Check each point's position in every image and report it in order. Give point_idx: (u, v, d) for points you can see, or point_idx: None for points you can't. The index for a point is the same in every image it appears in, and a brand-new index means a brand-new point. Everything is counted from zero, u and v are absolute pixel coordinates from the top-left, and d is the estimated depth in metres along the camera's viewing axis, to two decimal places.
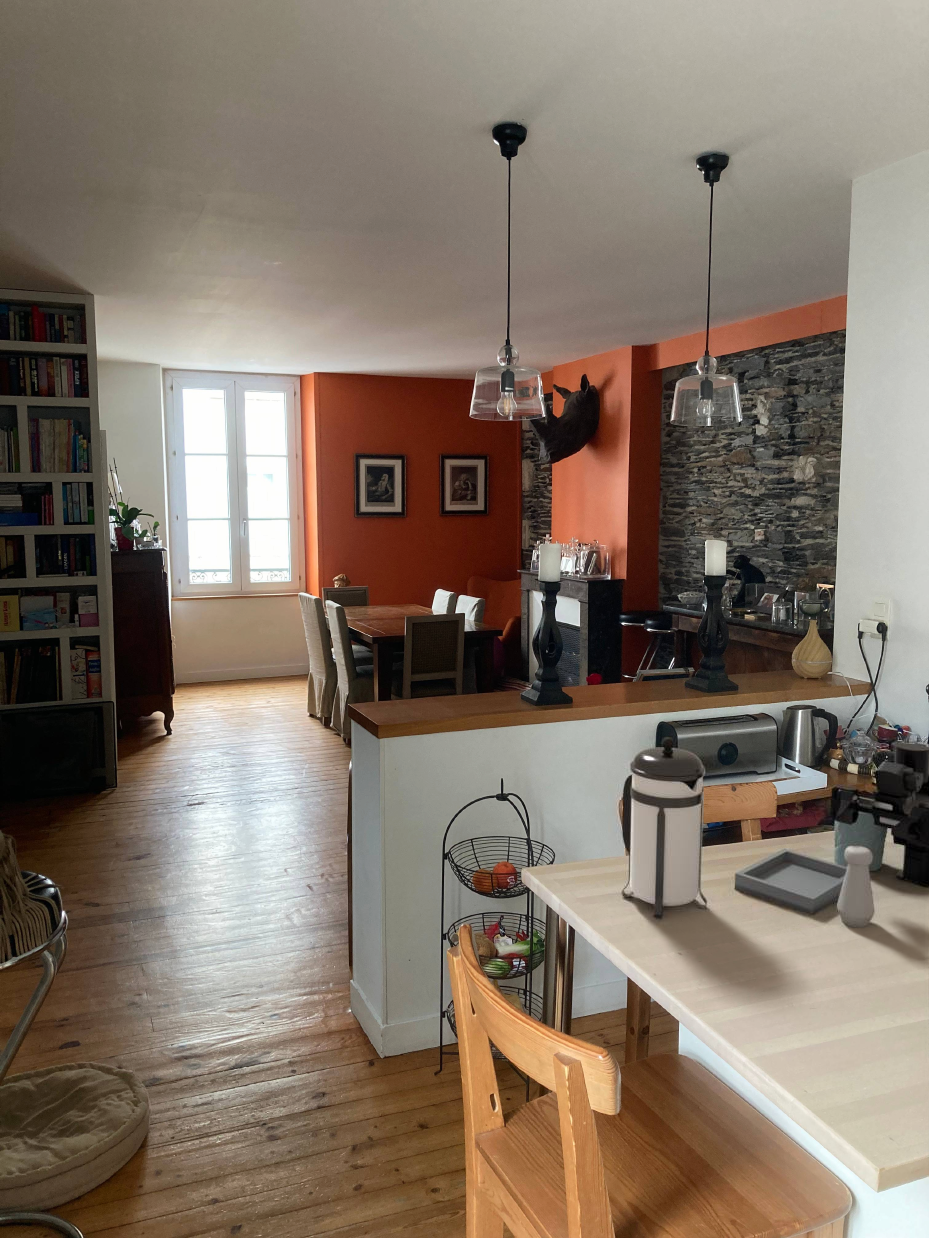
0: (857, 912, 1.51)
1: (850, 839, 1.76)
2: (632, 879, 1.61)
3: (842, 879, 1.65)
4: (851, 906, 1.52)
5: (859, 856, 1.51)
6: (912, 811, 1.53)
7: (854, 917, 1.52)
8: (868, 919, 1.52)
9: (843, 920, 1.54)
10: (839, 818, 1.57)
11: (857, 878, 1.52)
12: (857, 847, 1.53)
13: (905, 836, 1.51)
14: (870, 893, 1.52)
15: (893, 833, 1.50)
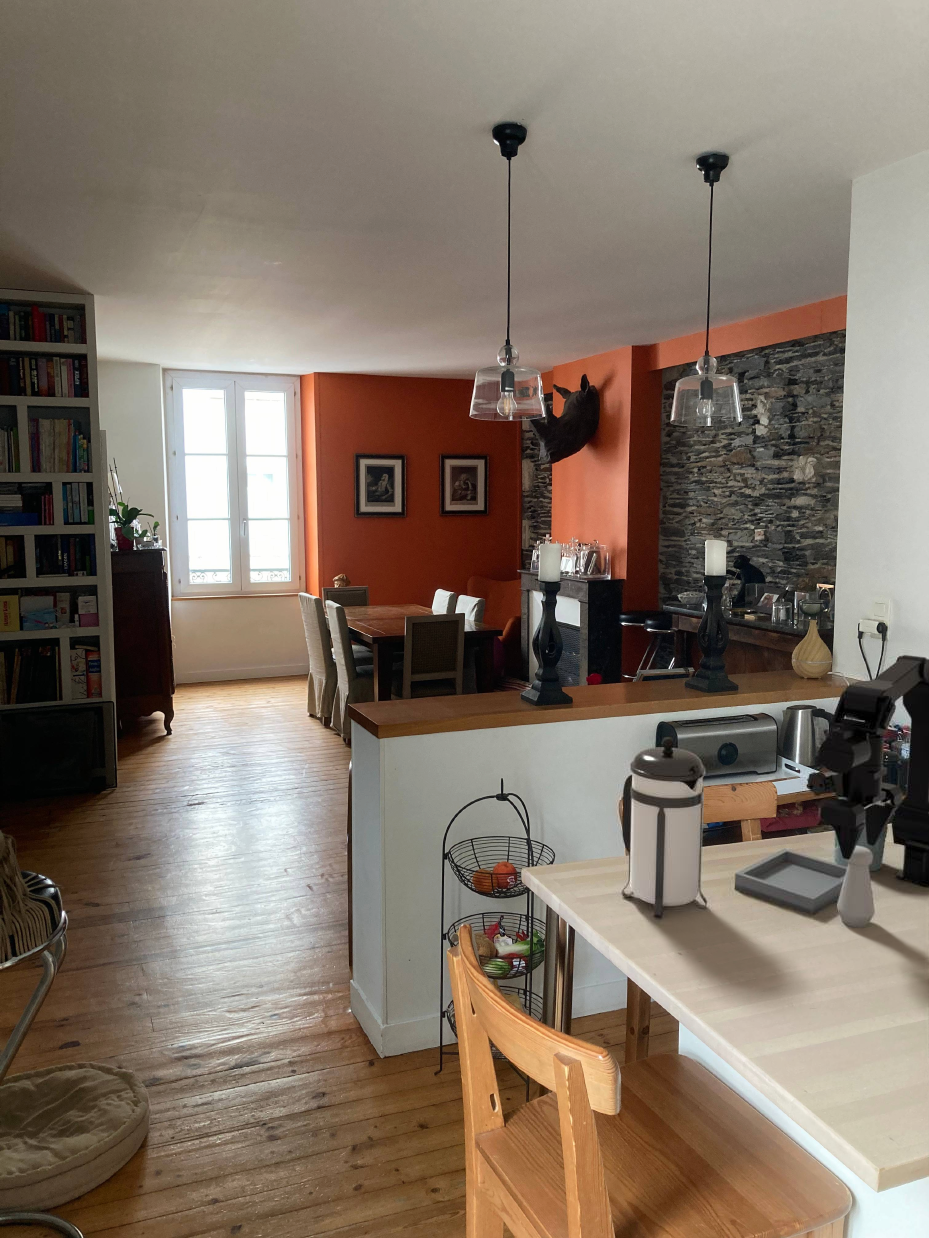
0: (857, 912, 1.51)
1: None
2: (632, 879, 1.61)
3: (842, 879, 1.65)
4: (851, 906, 1.52)
5: (859, 856, 1.51)
6: None
7: (854, 917, 1.52)
8: (868, 919, 1.52)
9: (843, 920, 1.54)
10: (870, 844, 1.56)
11: (858, 878, 1.52)
12: (857, 847, 1.53)
13: (851, 845, 1.48)
14: (870, 893, 1.52)
15: (847, 858, 1.49)
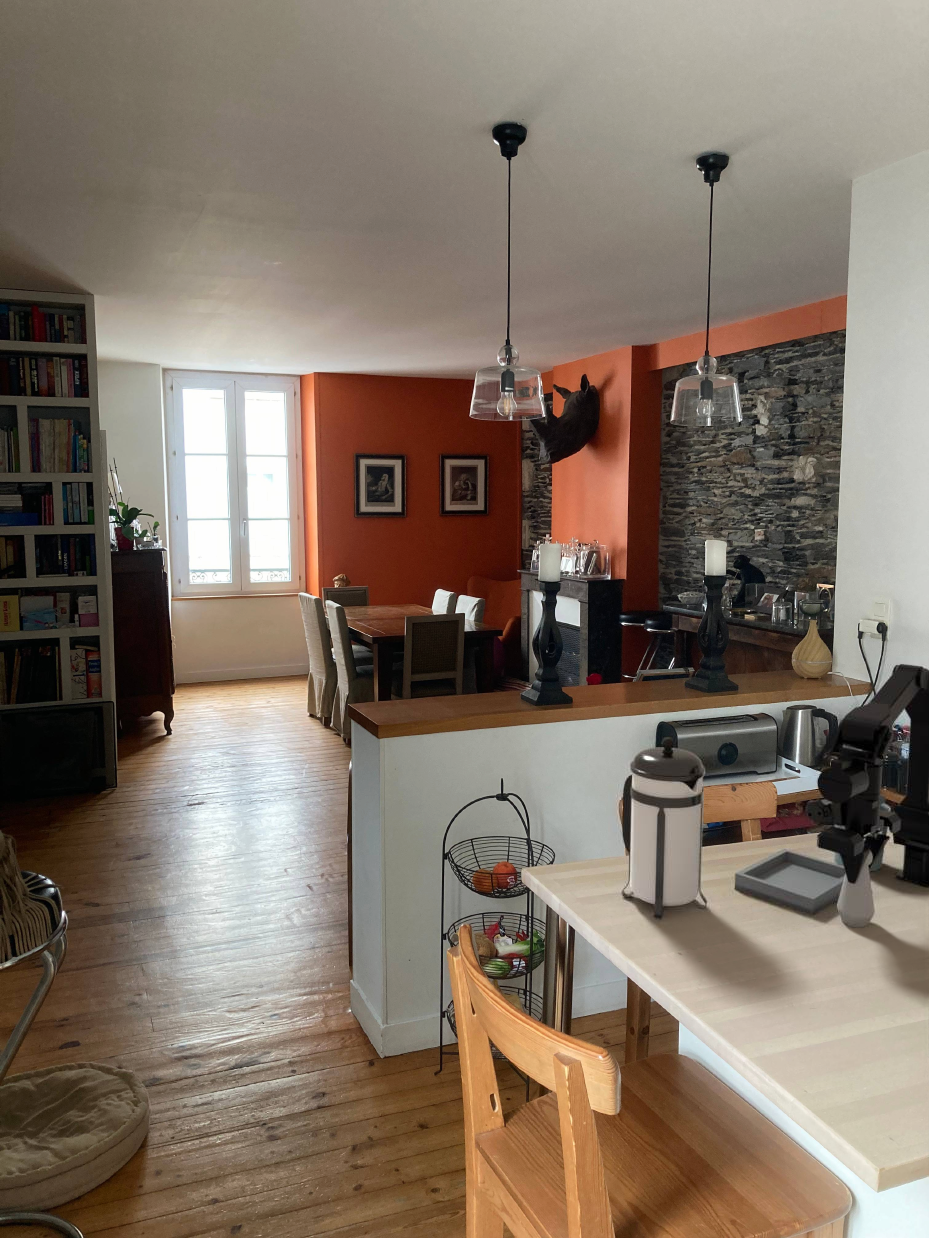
0: (857, 912, 1.51)
1: None
2: (632, 879, 1.61)
3: (842, 879, 1.65)
4: (851, 906, 1.52)
5: None
6: None
7: (854, 917, 1.52)
8: (868, 919, 1.52)
9: (843, 920, 1.54)
10: None
11: None
12: None
13: (857, 870, 1.50)
14: (870, 893, 1.52)
15: (852, 882, 1.52)
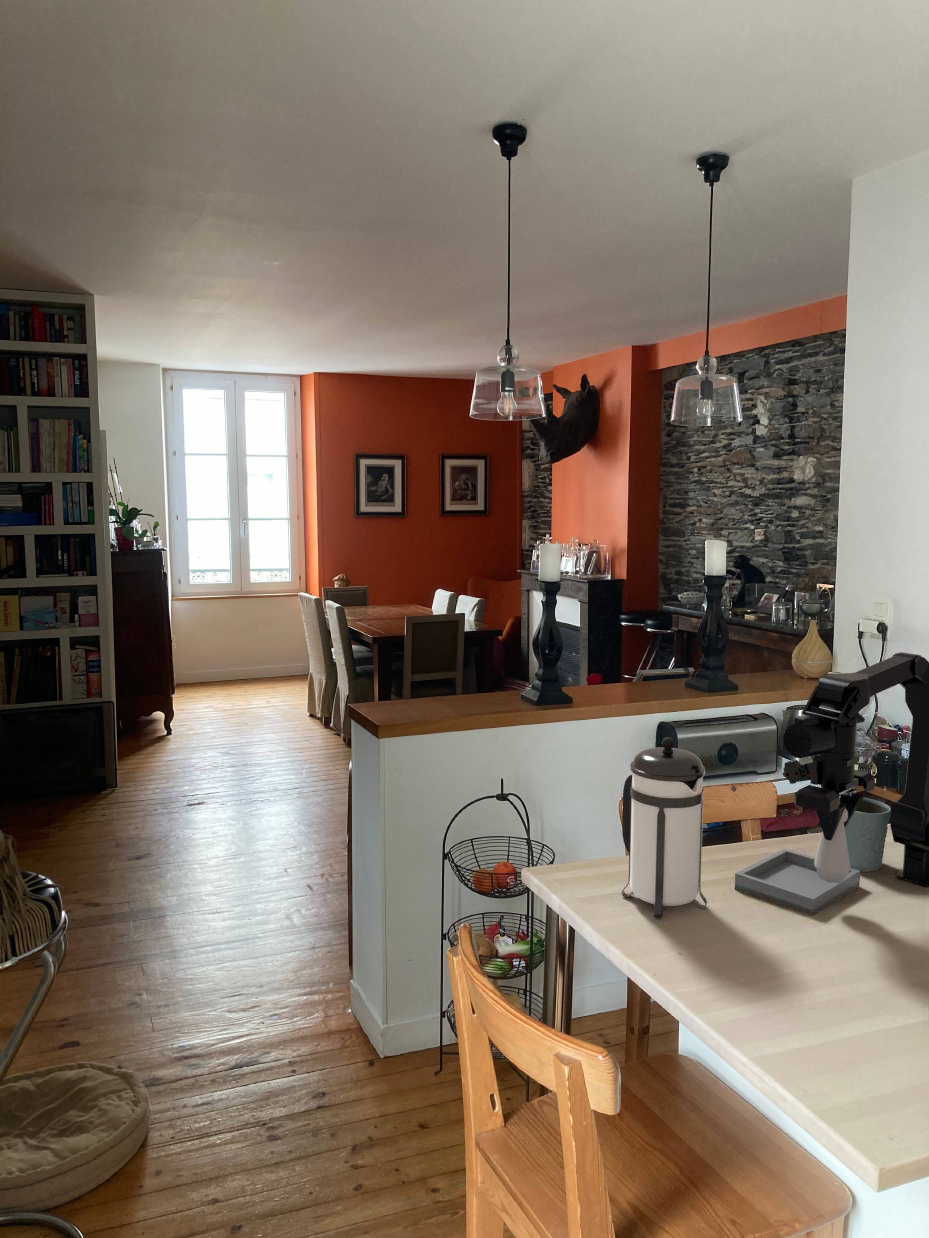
0: (834, 867, 1.56)
1: (850, 839, 1.76)
2: (632, 879, 1.61)
3: None
4: (828, 862, 1.57)
5: None
6: None
7: (831, 872, 1.57)
8: (844, 874, 1.57)
9: (820, 876, 1.59)
10: None
11: (834, 835, 1.57)
12: None
13: (832, 827, 1.55)
14: (846, 849, 1.57)
15: (828, 839, 1.57)
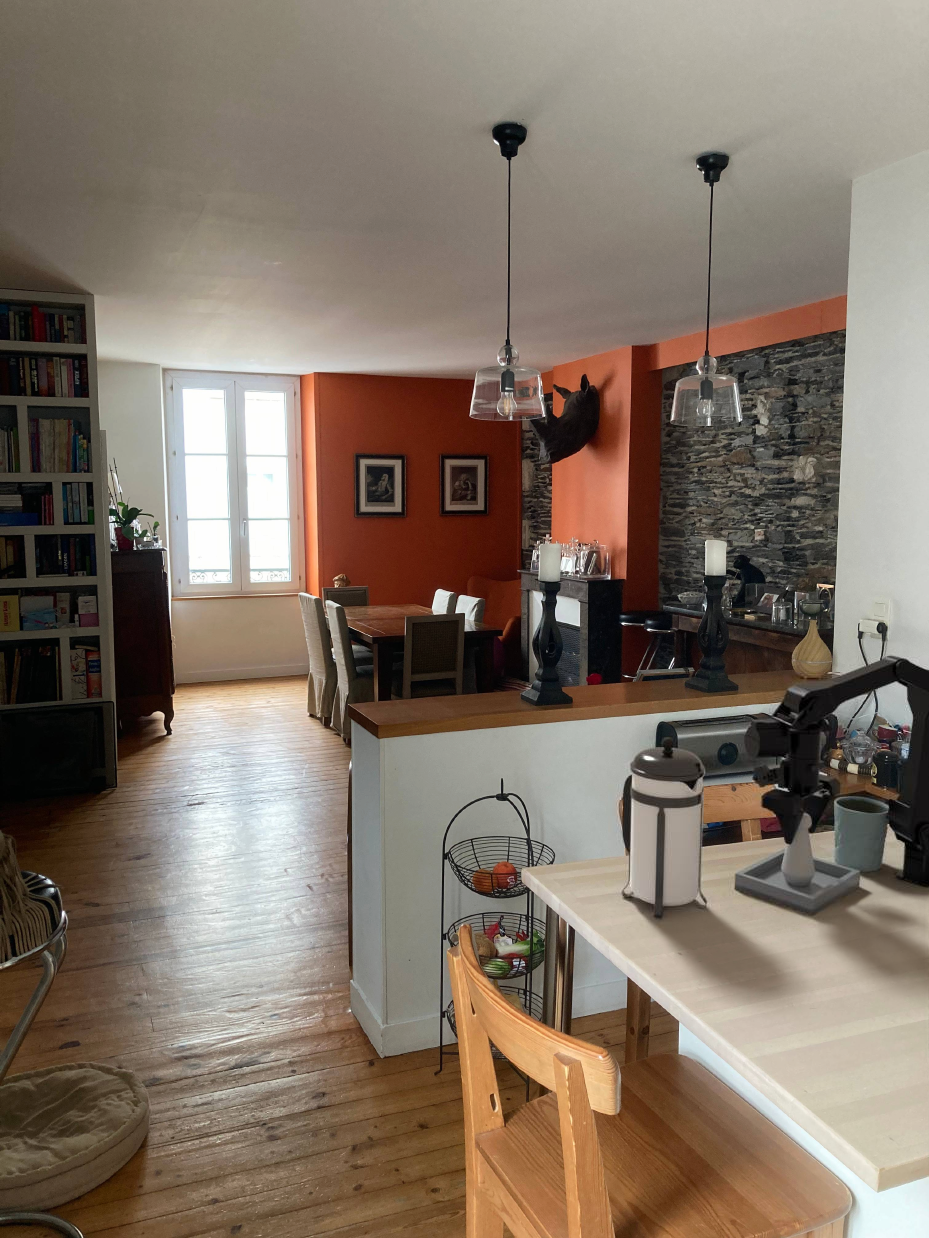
0: (799, 872, 1.65)
1: (850, 839, 1.76)
2: (632, 879, 1.61)
3: (842, 879, 1.65)
4: (793, 867, 1.66)
5: None
6: None
7: (796, 876, 1.65)
8: (809, 878, 1.66)
9: (787, 880, 1.68)
10: (809, 832, 1.70)
11: (798, 841, 1.66)
12: None
13: (792, 831, 1.62)
14: (810, 854, 1.66)
15: (789, 843, 1.64)
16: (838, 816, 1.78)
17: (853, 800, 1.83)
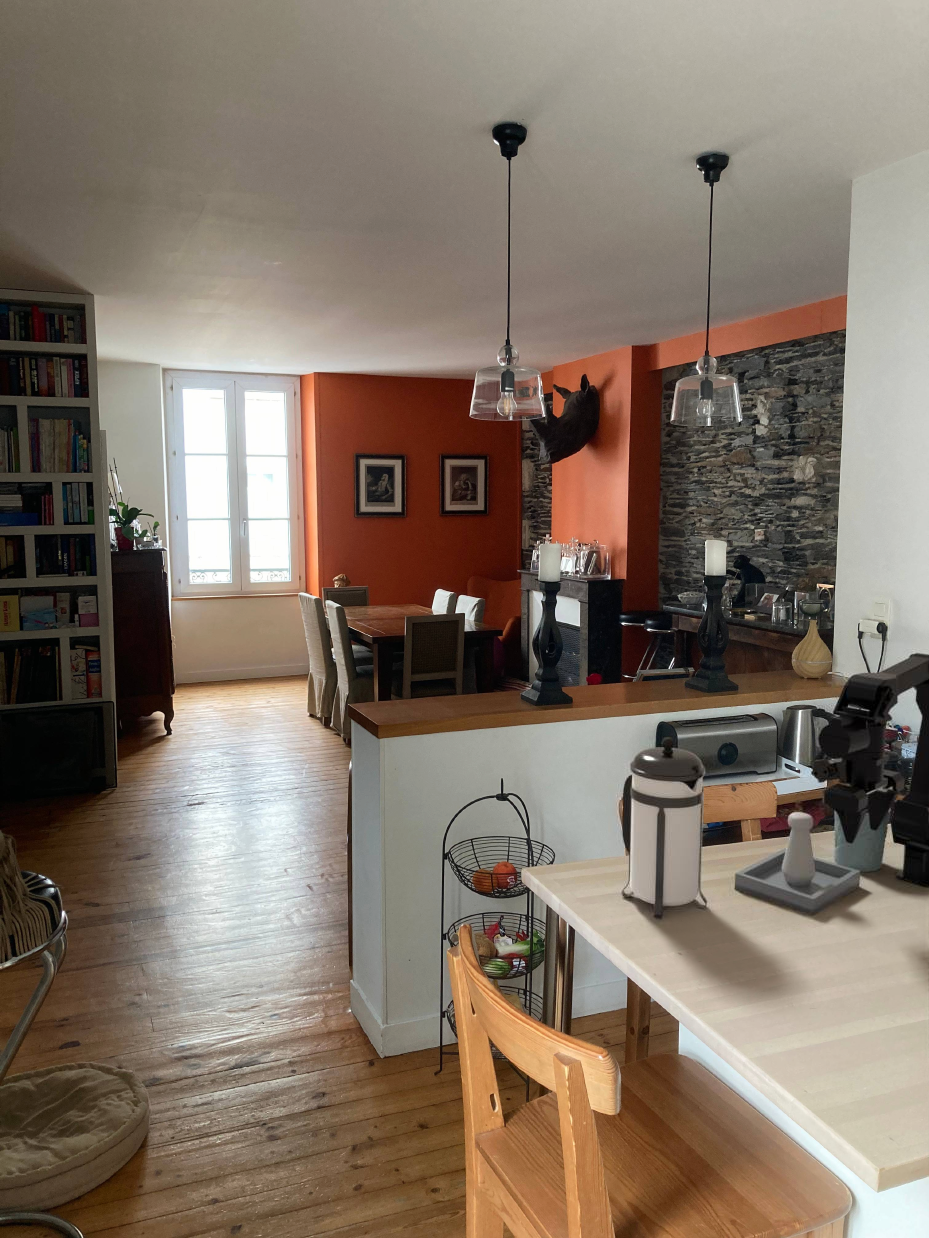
0: (799, 872, 1.65)
1: None
2: (632, 879, 1.61)
3: (842, 879, 1.65)
4: (794, 867, 1.65)
5: (800, 821, 1.65)
6: None
7: (797, 877, 1.65)
8: (809, 879, 1.66)
9: (787, 880, 1.68)
10: (873, 829, 1.61)
11: (799, 842, 1.65)
12: (799, 813, 1.67)
13: (854, 829, 1.53)
14: (811, 855, 1.66)
15: (850, 842, 1.55)
16: (838, 816, 1.78)
17: None
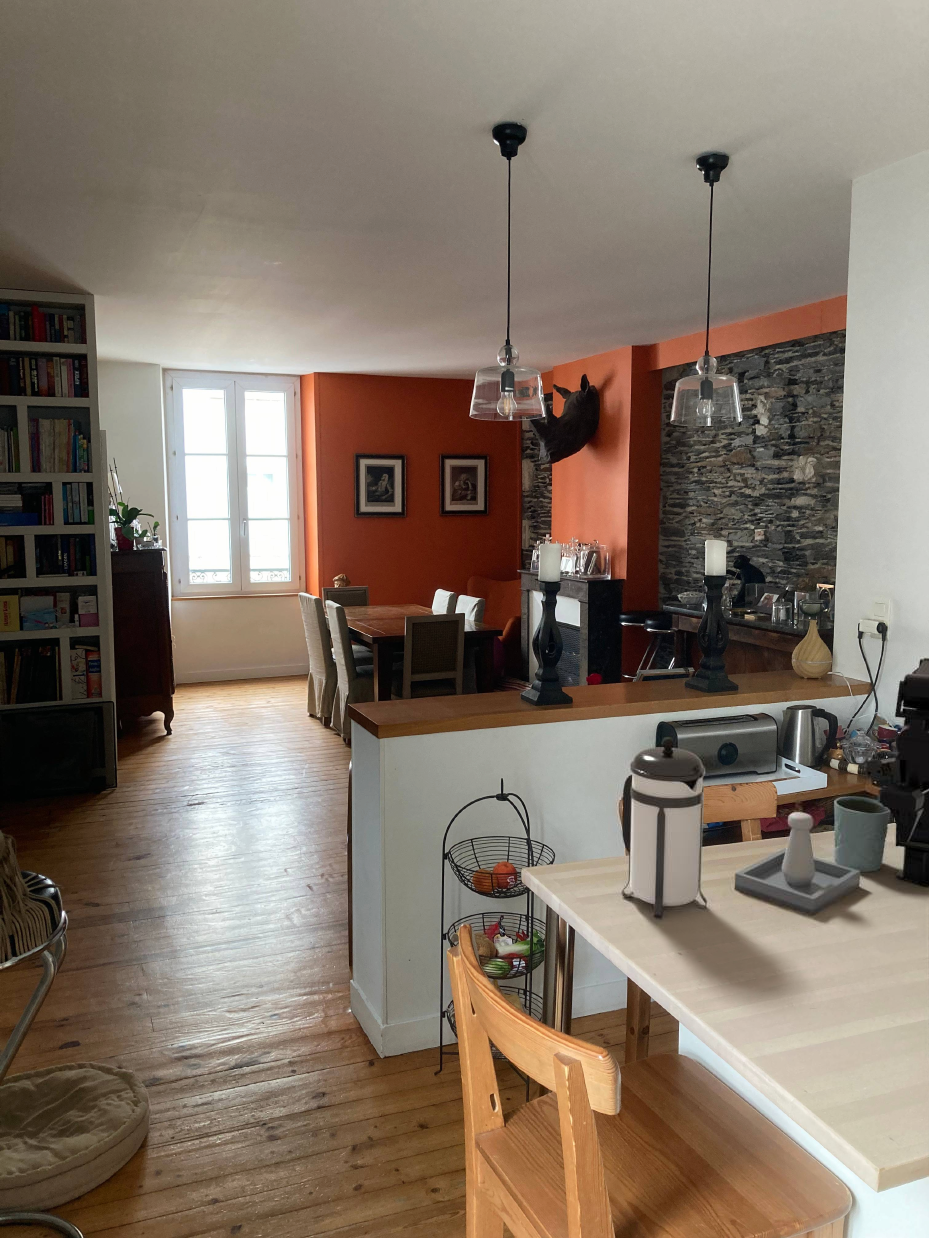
0: (799, 872, 1.65)
1: (850, 839, 1.76)
2: (632, 879, 1.61)
3: (842, 879, 1.65)
4: (794, 867, 1.65)
5: (800, 821, 1.65)
6: None
7: (797, 877, 1.65)
8: (809, 879, 1.66)
9: (787, 880, 1.68)
10: (925, 829, 1.61)
11: (799, 842, 1.65)
12: (799, 813, 1.67)
13: (909, 829, 1.53)
14: (811, 855, 1.66)
15: (904, 842, 1.55)
16: (838, 816, 1.78)
17: (853, 800, 1.83)
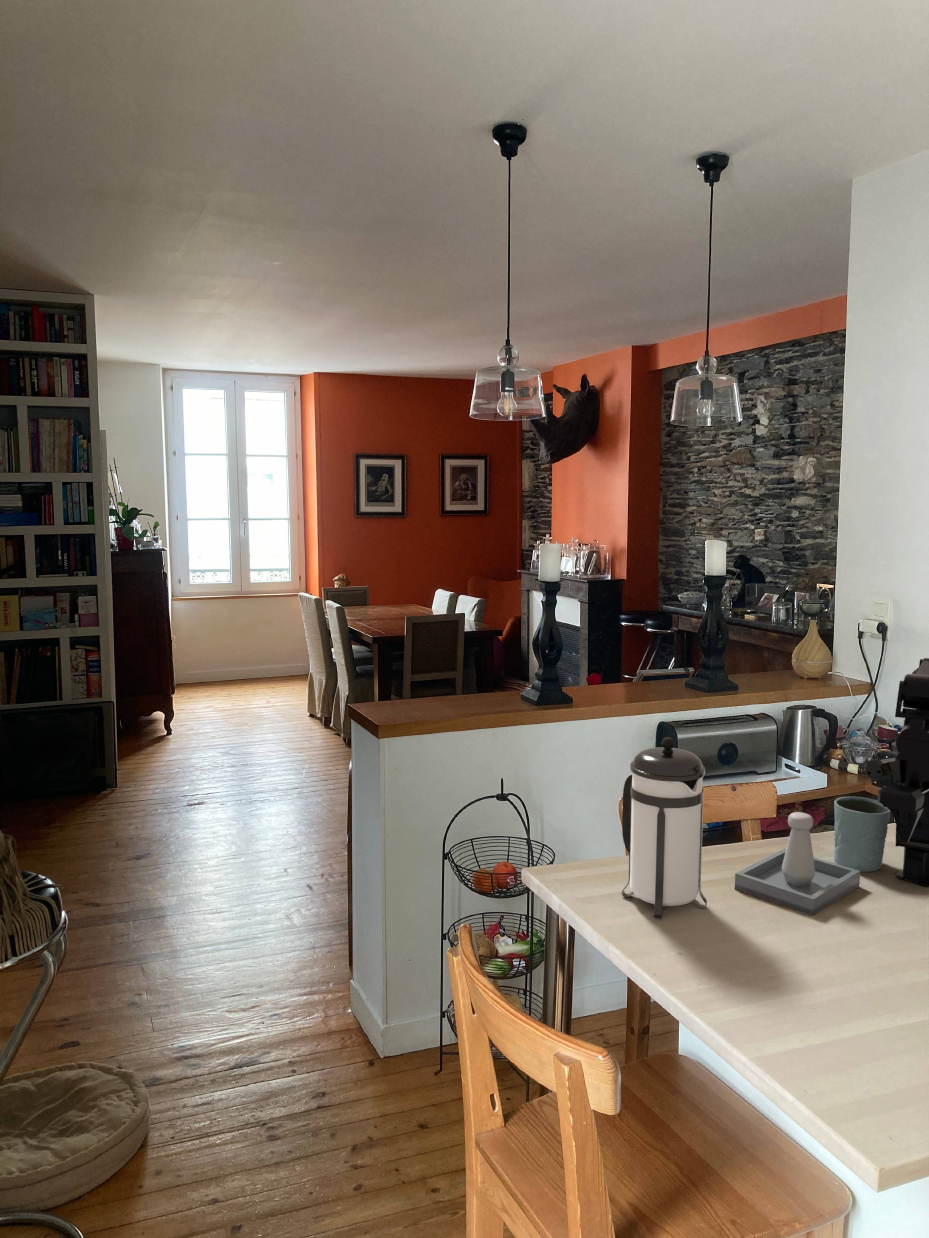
0: (799, 872, 1.65)
1: (850, 839, 1.76)
2: (632, 879, 1.61)
3: (842, 879, 1.65)
4: (794, 867, 1.65)
5: (800, 821, 1.65)
6: None
7: (797, 877, 1.65)
8: (809, 879, 1.66)
9: (787, 880, 1.68)
10: (925, 829, 1.61)
11: (799, 842, 1.65)
12: (799, 813, 1.67)
13: (909, 829, 1.53)
14: (811, 855, 1.66)
15: (904, 842, 1.55)
16: (838, 816, 1.78)
17: (853, 800, 1.83)
